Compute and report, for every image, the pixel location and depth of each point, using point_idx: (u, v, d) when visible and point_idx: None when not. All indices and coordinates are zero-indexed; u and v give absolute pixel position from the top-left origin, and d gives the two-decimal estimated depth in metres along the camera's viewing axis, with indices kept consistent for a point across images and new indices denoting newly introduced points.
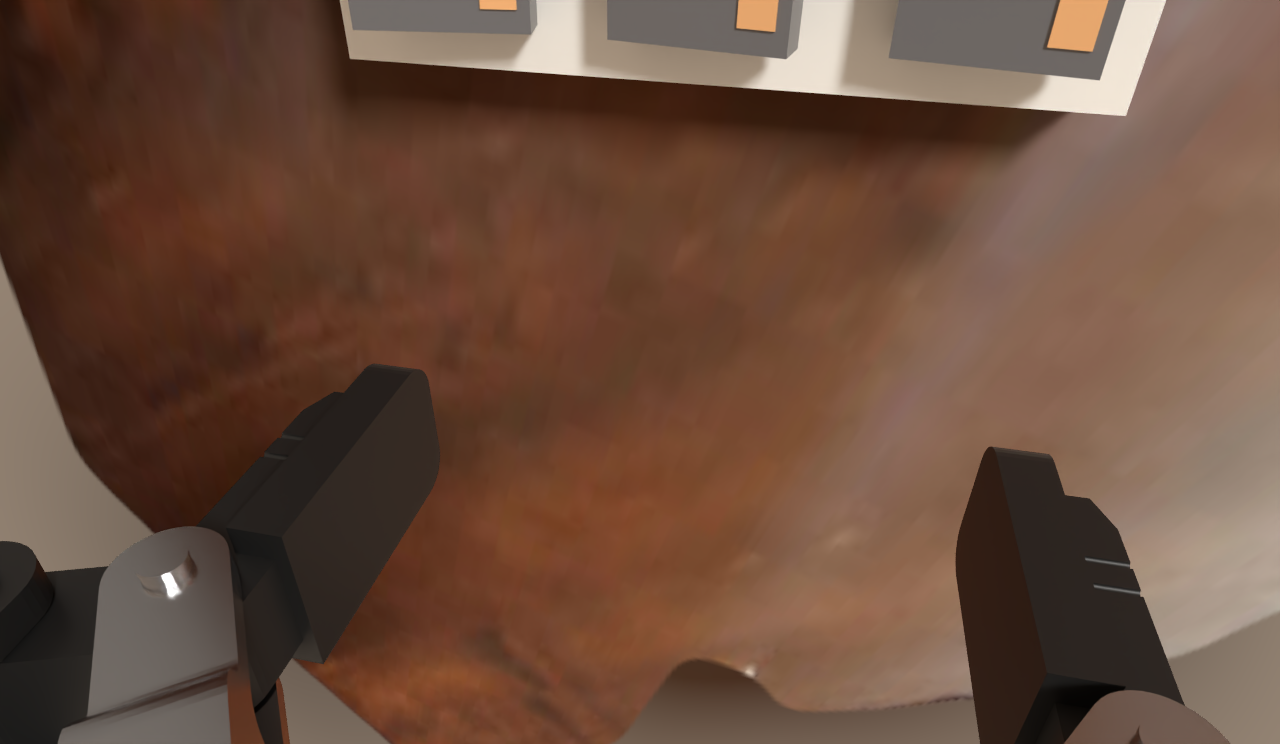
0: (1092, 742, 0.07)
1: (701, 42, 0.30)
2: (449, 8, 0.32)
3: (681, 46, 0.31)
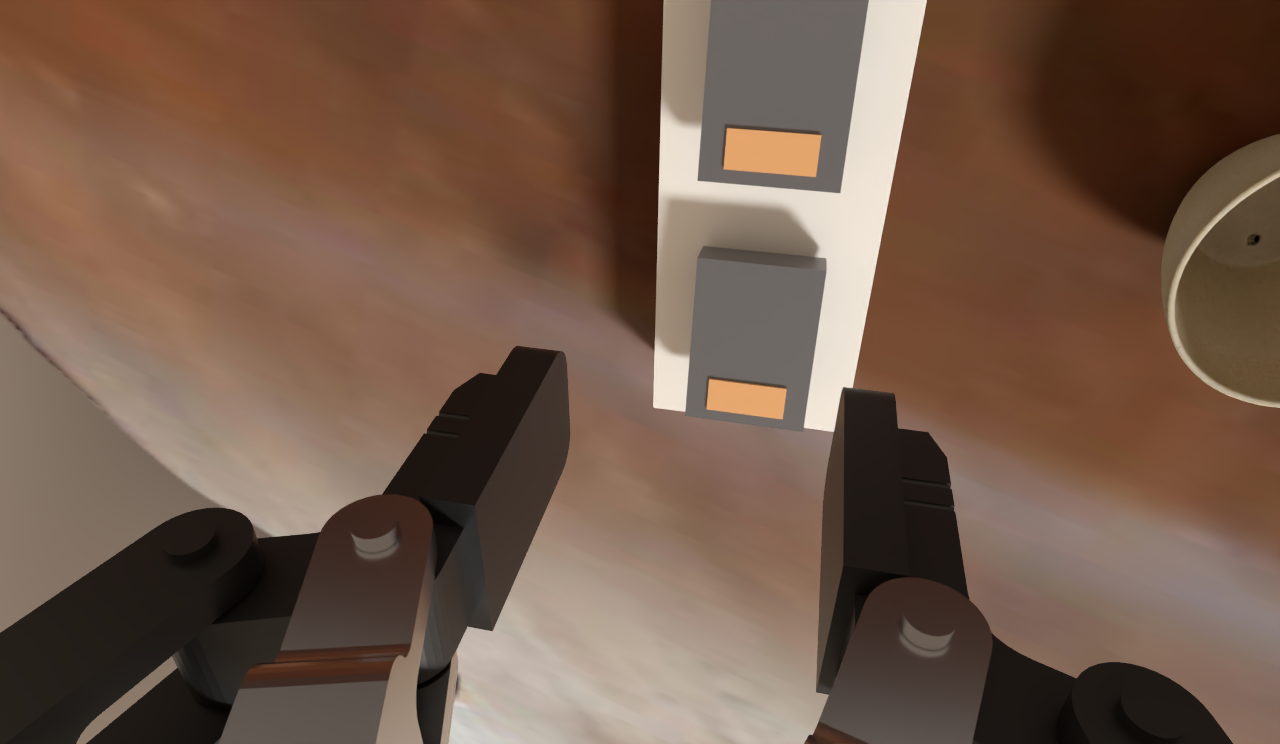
0: (864, 616, 0.08)
1: (712, 86, 0.28)
2: None
3: (707, 61, 0.28)
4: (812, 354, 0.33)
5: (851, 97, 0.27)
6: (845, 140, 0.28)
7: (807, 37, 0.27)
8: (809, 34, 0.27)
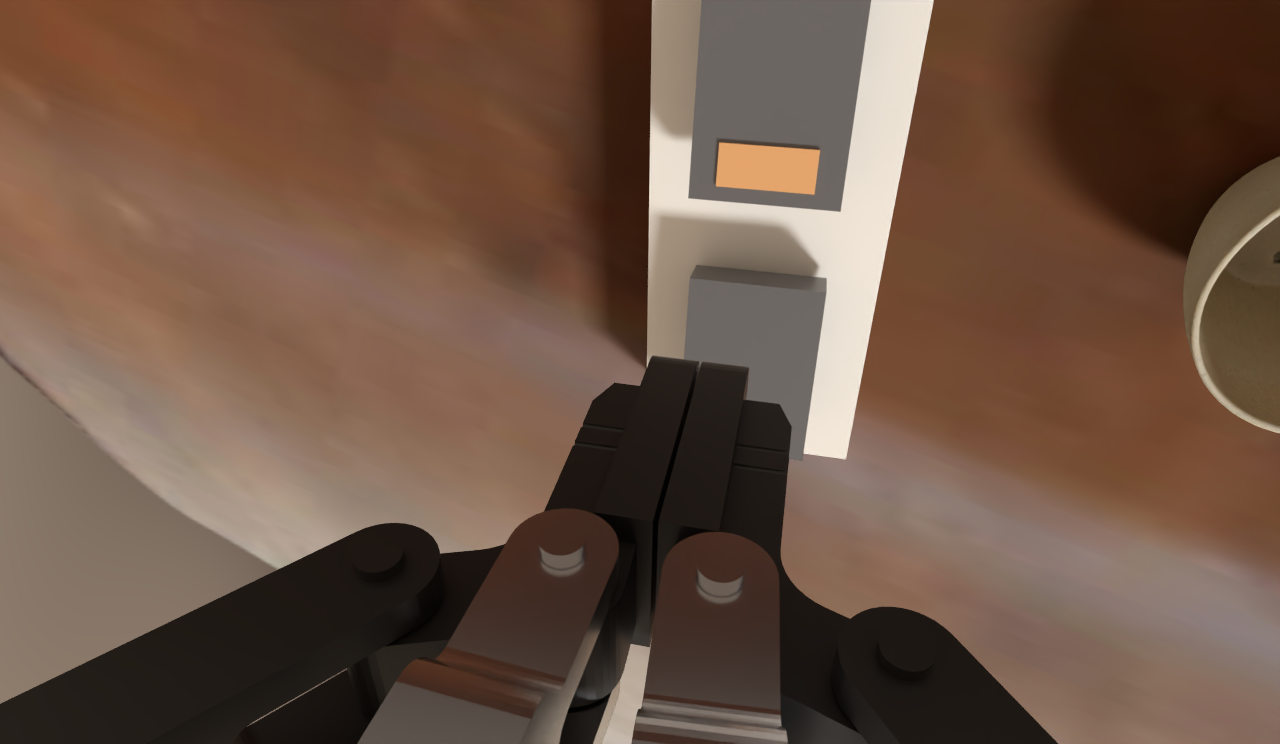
0: (663, 566, 0.08)
1: (703, 98, 0.26)
2: None
3: (698, 72, 0.26)
4: (811, 380, 0.31)
5: (852, 109, 0.25)
6: (845, 155, 0.26)
7: (804, 46, 0.25)
8: (806, 42, 0.25)
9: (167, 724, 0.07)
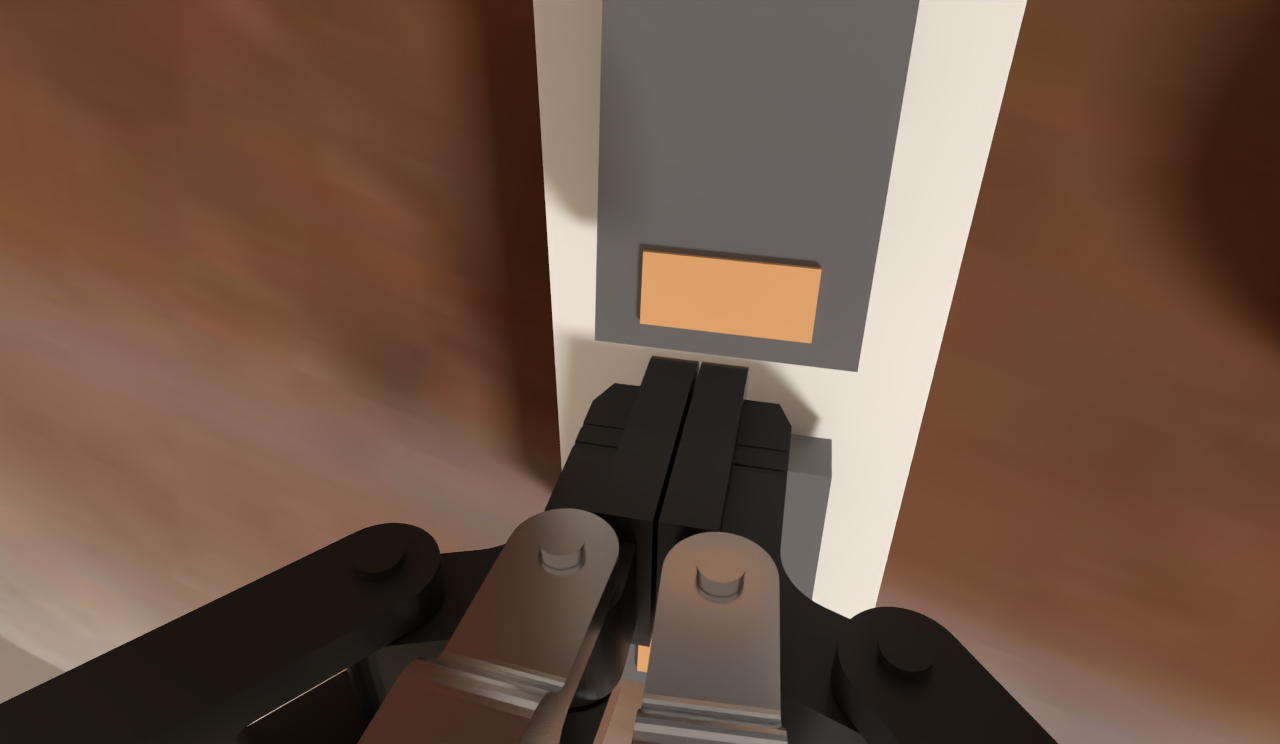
0: (663, 566, 0.08)
1: (612, 174, 0.15)
2: None
3: (601, 129, 0.14)
4: None
5: (880, 200, 0.14)
6: (866, 279, 0.14)
7: (793, 84, 0.13)
8: (796, 79, 0.13)
9: (167, 724, 0.07)
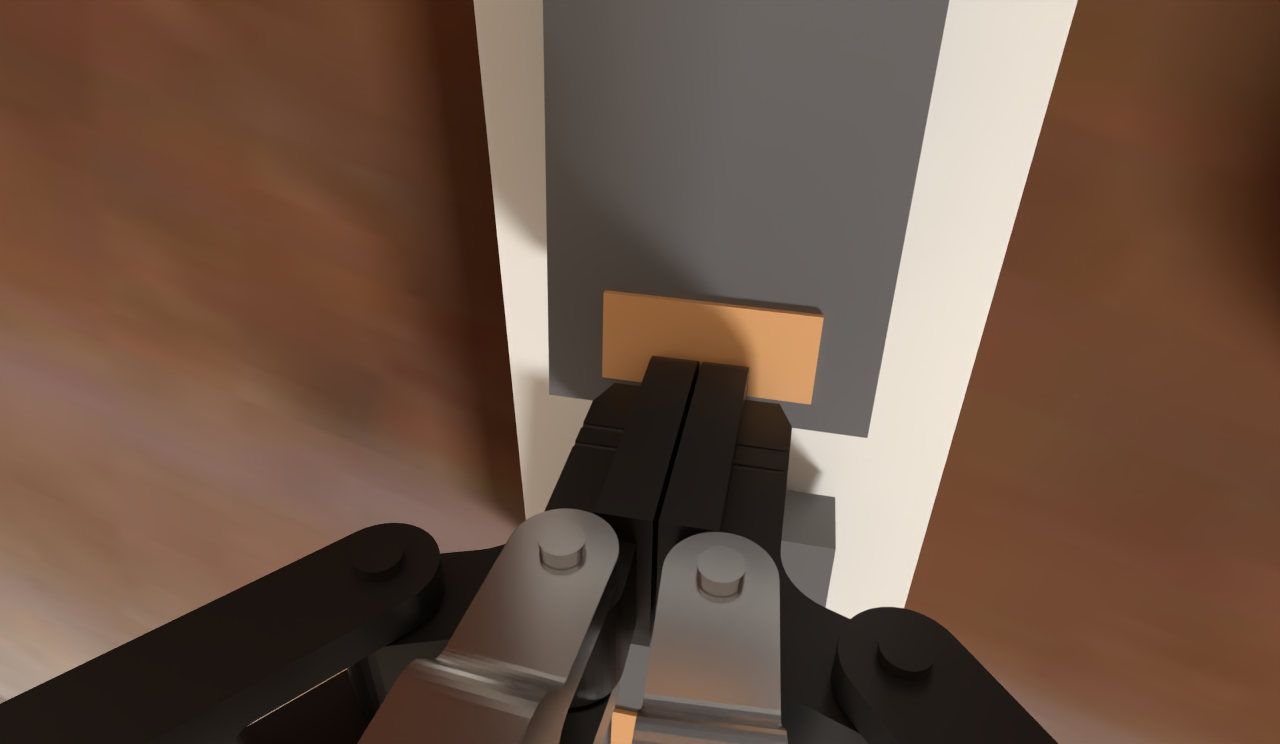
0: (663, 566, 0.08)
1: (563, 199, 0.12)
2: None
3: (548, 143, 0.11)
4: None
5: (897, 234, 0.11)
6: (880, 329, 0.12)
7: (787, 88, 0.10)
8: (792, 81, 0.10)
9: (167, 724, 0.07)
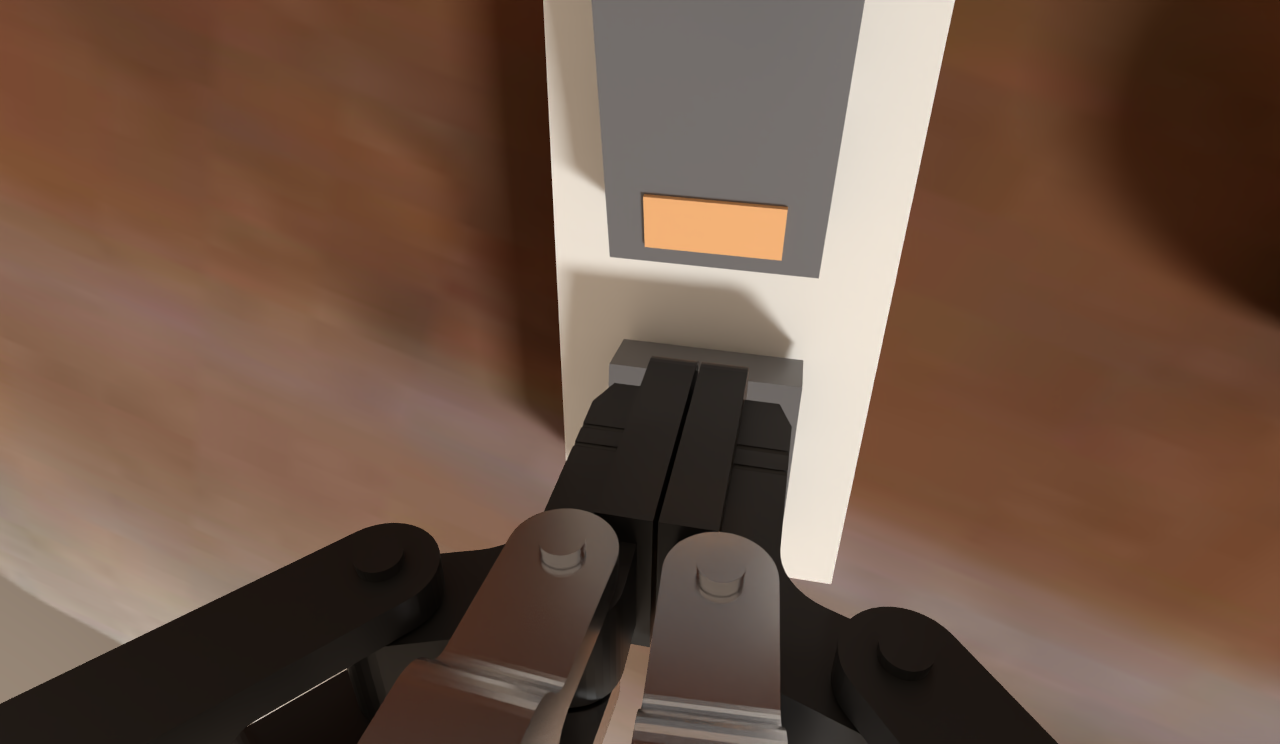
0: (663, 566, 0.08)
1: (613, 139, 0.18)
2: None
3: (601, 105, 0.17)
4: None
5: (833, 159, 0.17)
6: (824, 214, 0.18)
7: (758, 72, 0.16)
8: (761, 68, 0.16)
9: (167, 723, 0.07)
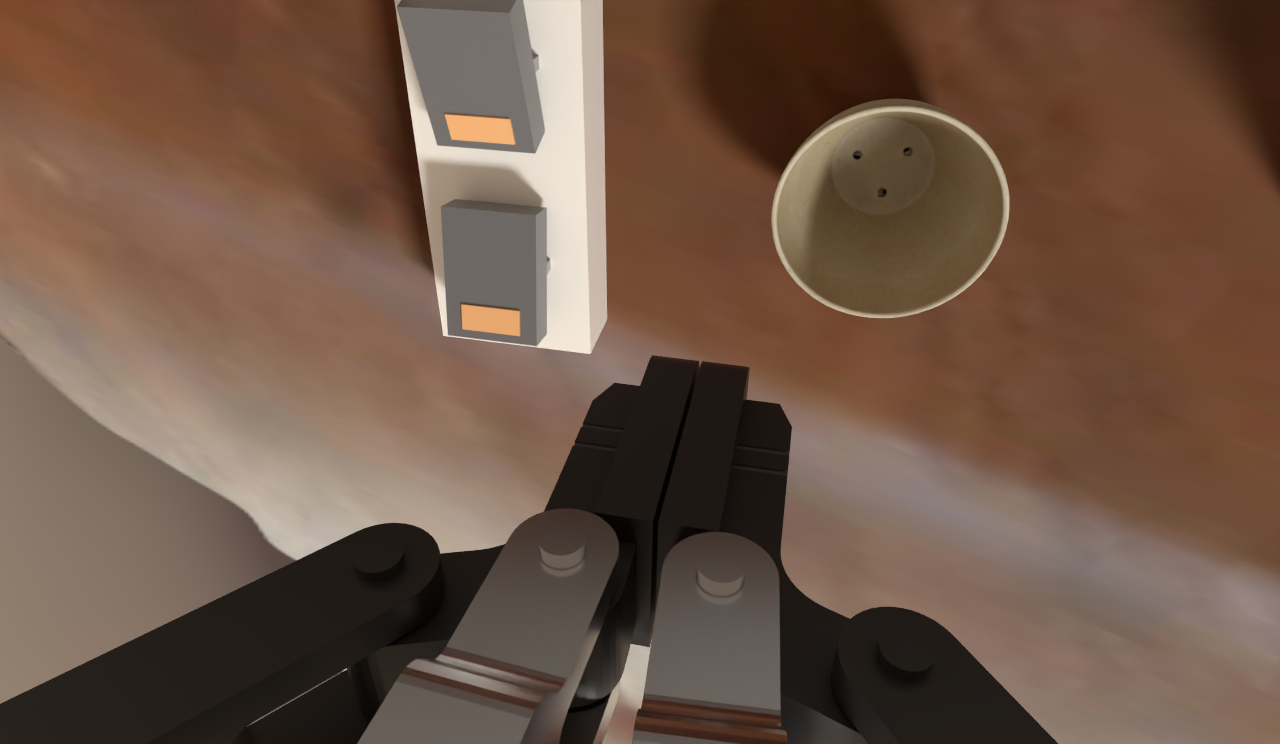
0: (663, 566, 0.08)
1: (425, 87, 0.38)
2: None
3: (416, 71, 0.37)
4: (534, 282, 0.42)
5: (522, 95, 0.37)
6: (527, 121, 0.38)
7: (479, 56, 0.36)
8: (480, 55, 0.36)
9: (167, 724, 0.07)
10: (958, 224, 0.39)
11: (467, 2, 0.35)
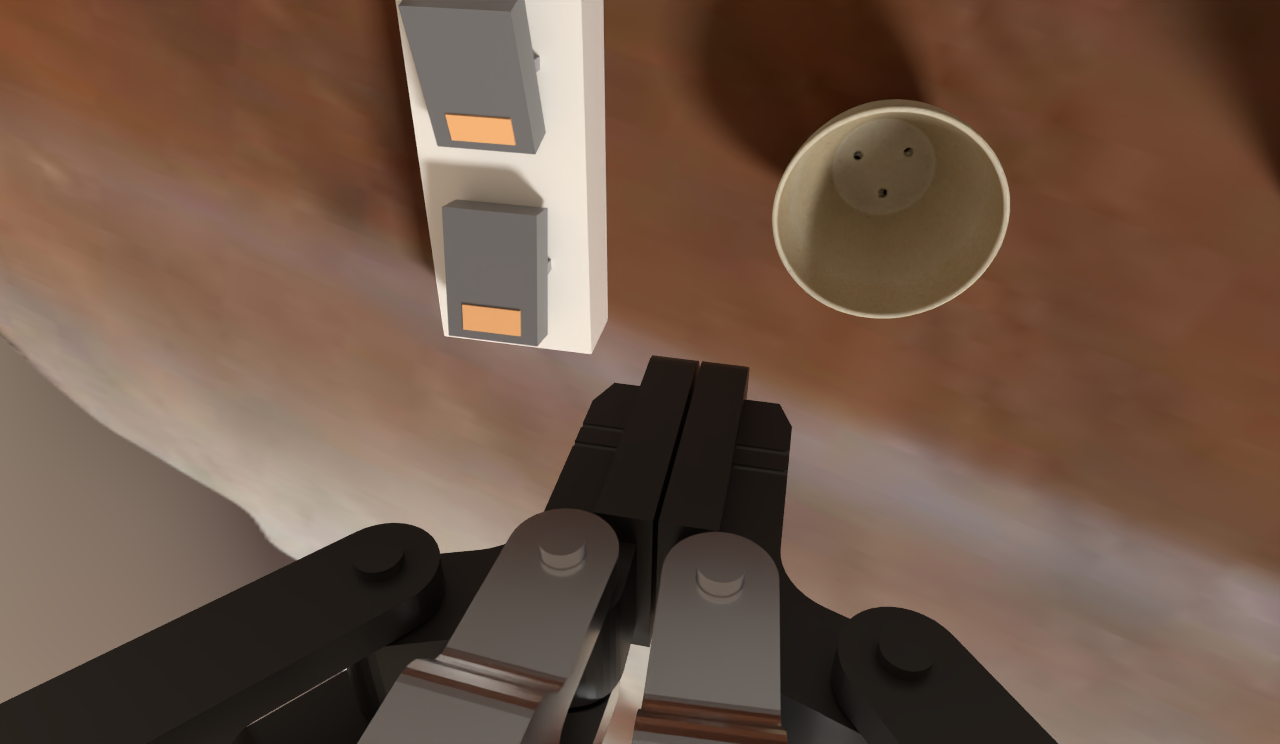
0: (663, 566, 0.08)
1: (426, 87, 0.38)
2: None
3: (417, 71, 0.37)
4: (535, 283, 0.42)
5: (523, 94, 0.37)
6: (527, 121, 0.38)
7: (480, 56, 0.36)
8: (481, 54, 0.36)
9: (167, 724, 0.07)
10: (959, 224, 0.39)
11: (469, 1, 0.35)
